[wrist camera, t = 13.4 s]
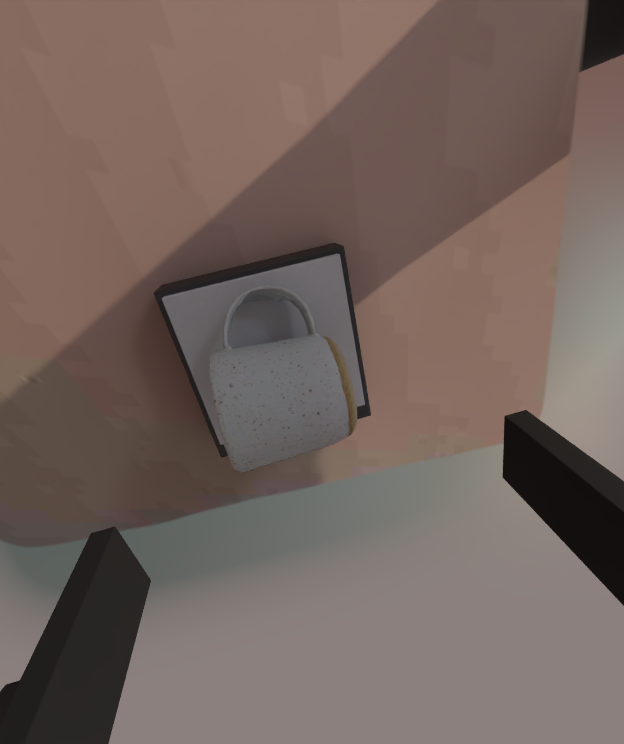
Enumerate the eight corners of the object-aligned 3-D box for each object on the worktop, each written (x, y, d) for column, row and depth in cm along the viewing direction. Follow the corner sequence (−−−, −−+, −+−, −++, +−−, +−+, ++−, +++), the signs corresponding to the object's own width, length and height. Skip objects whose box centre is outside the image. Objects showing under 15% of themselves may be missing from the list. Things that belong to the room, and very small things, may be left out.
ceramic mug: (339, 404, 28) (370, 464, 22) (238, 429, 28) (236, 500, 21) (316, 270, 24) (346, 291, 17) (195, 296, 23) (174, 329, 16)
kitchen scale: (335, 242, 26) (346, 246, 24) (362, 401, 33) (373, 419, 30) (160, 285, 26) (150, 294, 23) (222, 440, 32) (220, 462, 29)
